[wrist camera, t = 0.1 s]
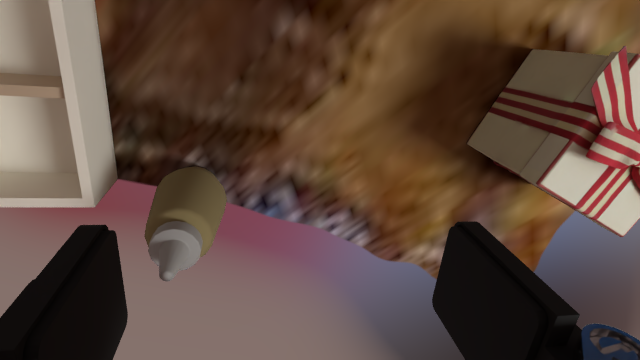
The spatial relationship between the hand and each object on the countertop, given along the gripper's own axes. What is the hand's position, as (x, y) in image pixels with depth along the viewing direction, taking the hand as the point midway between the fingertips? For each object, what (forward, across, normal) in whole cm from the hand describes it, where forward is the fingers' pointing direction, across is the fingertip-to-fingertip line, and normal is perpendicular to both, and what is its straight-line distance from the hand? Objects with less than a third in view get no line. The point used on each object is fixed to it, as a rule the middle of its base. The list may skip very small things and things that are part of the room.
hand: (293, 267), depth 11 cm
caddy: (+37, +24, +1) cm, 44 cm away
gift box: (+37, -37, +2) cm, 52 cm away
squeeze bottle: (+37, +8, +14) cm, 40 cm away
